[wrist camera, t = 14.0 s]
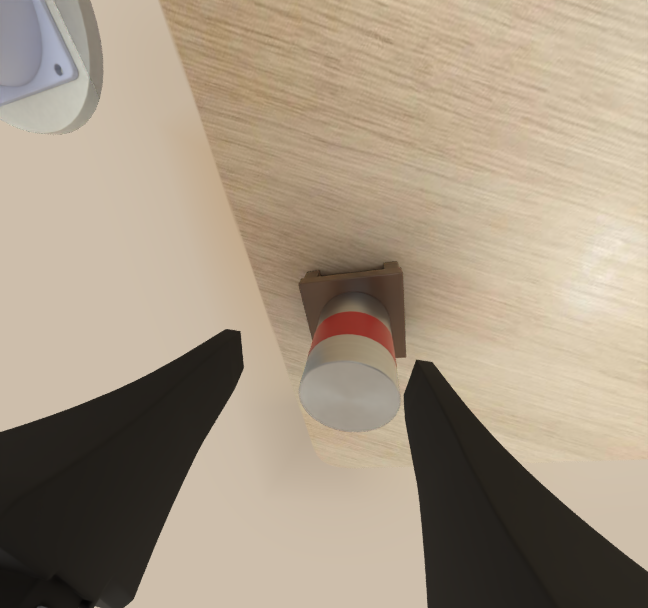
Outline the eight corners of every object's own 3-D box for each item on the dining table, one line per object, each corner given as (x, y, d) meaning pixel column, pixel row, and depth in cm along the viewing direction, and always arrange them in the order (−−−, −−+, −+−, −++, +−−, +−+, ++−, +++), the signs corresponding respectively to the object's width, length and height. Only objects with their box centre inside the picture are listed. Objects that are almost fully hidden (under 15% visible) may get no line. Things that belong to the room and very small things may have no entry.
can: (315, 342, 20) (293, 420, 14) (325, 284, 17) (303, 350, 11) (379, 355, 20) (385, 441, 14) (398, 299, 17) (416, 374, 11)
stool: (321, 342, 23) (317, 361, 21) (305, 270, 20) (298, 283, 18) (402, 338, 22) (406, 357, 19) (398, 259, 18) (402, 272, 16)
